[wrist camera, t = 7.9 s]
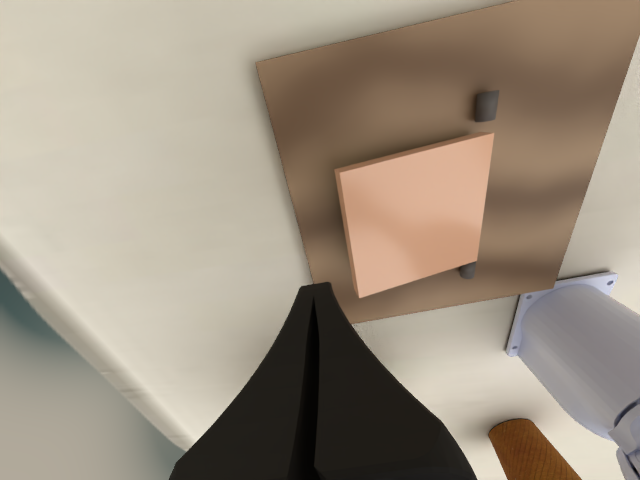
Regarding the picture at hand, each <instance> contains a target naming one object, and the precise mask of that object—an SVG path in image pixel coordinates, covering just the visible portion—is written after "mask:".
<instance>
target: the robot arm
mask: <svg viewBox="0 0 640 480" xmlns="http://www.w3.org/2000/svg"><path fill="white" fill-rule="evenodd" d="M617 278H618V274H616V273H614V272H605V273H599V274H594V275H588V276H582V277H577V278H571V279H566V280H560V281H556V282H555V285H554V288H553V289H548V290H542V291H536V292H531V293H525V294H521V296H520V300H519V303H518V307H517V311H516V315H515V319H514V322H513V326H512V330H511V334H510V338H509V341H508V345H507V349H506V354H507V355H508V356H510V357H512V356H519V358H520V359H521V360H522V361H523V362H524V363H525V365H526V366H527V367H528V368H529V369H530V371H531V372H532V373H533V374H534V375H535V376H536V378H537V379H538V380H539V381H540V382H541V383H542V385H543V386H544V387H545V388H546V389H547V390H548V392H549V393H550V394H551V395H552V396H553V398H554V399H555V400H556V401H557V402H558V403H559V405H560V406H561V407H562V408H563V409H564V410H565V411H566V412H567V413H568V414H569V415H570V416H571V417H572V418H573V419H574V420H575V421H577V422H578V423H579V424H581V425H582V426H583V427H585V428H586V429H588V430H590V431H591V432H593V433H595V434H597V435H598V436H601V437H603V438H605V439H608V440H611V441H614V442H615V443H616V444H617V445H618V446H619V448H618V449H617V451H616V456H617V460H618V463H619V465H620V468H621V471H622V474H623V476H624V478H625V480H640V315H639V314H637V313H635V312H634V311H632V310H631V309H629V308H627V307H626V306H624V305H623V304H621V303H619V302H618V301H616V300H615V299H613V298H611V297H610V296H609V294H610V292H611V290H612V288H613V286H614V284H615V282H616V280H617ZM169 480H477V478H476V475H475V473H474V471H473V469H472V467H471V466H470V464H469V462H468V460H467V458H466V457H465V455H464V453H463V452H462V450H461V448H460V447H459V445H458V444H457V442H456V441H455V439H454V438H453V437H452V435H451V434H450V432H449V431H448V429H447V428H446V427H445V425H444V424H443V422H442V421H441V420H440V419H438V418H437V417H436V416H435V415H434V414H433V413H432V412H430V411H429V410H428V409H427V408H426V407H425V406H424V405H423V404H422V403H420V402H419V401H418V400H417V399H416V398H415V397H414V396H413V395H412V394H411V393H410V392H409V391H408V390H407V389H406V388H405V387H404V386H403V385H402V384H401V383H399V381H398V380H397V379H396V378H395V377H394V376H393V375H392V374H391V373H390V372H389V371H388V370H387V369H386V368H385V367H384V366H383V364H382V363H381V362H380V361H379V360H378V359H377V358H376V357H375V355H374V354H373V353H372V352H371V351H370V349H369V348H368V347H367V346H366V344H365V343H364V342H363V341H362V339H361V338H360V337H359V335H358V334H357V332H356V331H355V330H354V328H353V327H352V325H351V324H350V322H349V321H348V319H347V317H346V316H345V314H344V312H343V310H342V309H341V307H340V305H339V303H338V301H337V299H336V297H335V295H334V292H333V289H332V284H331V283H330V282H323V283H317V284H312V285H306V286H301V287H300V289H299V291H298V294H297V296H296V299H295V301H294V304H293V306H292V308H291V311H290V313H289V315H288V317H287V319H286V321H285V323H284V325H283V327H282V329H281V331H280V333H279V334H278V336H277V338H276V340H275V342H274V344H273V345H272V347H271V349H270V350H269V352H268V353H267V355H266V357H265V358H264V360H263V361H262V363H261V364H260V366H259V367H258V369H257V370H256V371H255V373H254V374H253V376H252V377H251V378H250V380H249V381H248V382H247V384H246V385H245V386H244V388H243V389H242V390H241V392H240V393H239V394H238V395H237V397H236V398H235V399H234V400H233V401H232V403H231V404H230V405H229V406H228V407H227V408H226V410H225V411H224V412H223V413H222V414H221V416H220V417H219V418H218V419H217V420H216V421H215V423H214V424H213V425H212V426H211V427H210V428H209V429H208V430H207V431H206V432H205V433H204V434H203V435H202V437H201V438H200V439H199V440H198V441H197V442H196V443H195V444H194V445H193V446H192V447H191V448H190V449H189V450H188V451H187V452H186V453H185V454H184V455H183V456H182V457H181V458H180V459H179V460H178V461H177V462H176V464H175V466H174V469H173V471H172V473H171V475H170V478H169Z"/></svg>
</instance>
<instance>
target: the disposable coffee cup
mask: <svg viewBox="0 0 640 480" xmlns="http://www.w3.org/2000/svg"><path fill="white" fill-rule="evenodd" d="M489 438H490V440H491V442H492V445H493V447H494V449H495V452H496V454H497V456H498V458H499V461H500V463H501V465H502V468H503V470H504V472H505V474H506V477H507V479H508V480H582V479H581V478H580V477H579V476H578V474H577V473H576V472H575V471H574V470H573V469H572V467H571V466H570V465H569V464H568V463H567V462H566V460H565V459H564V458H563V457H562V456H561V455H560V453H559V452H558V451H557V450H556V449H555V448H554V447H553V445H552V444H551V443H550V442H549V441H548V440H547V438H546V437H545V436H544V435H543V434H542V433H541V431H540V430H539V429H538V428H537V427H536V426H535V424H534V423H533V422H532V421H530V420H527V419H516V420H510V421H506V422H504V423H501V424H499V425H497V426H496V427H494V428H493V429H492V430H491V431H490V433H489Z"/></svg>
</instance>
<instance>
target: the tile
mask: <svg viewBox="0 0 640 480" xmlns="http://www.w3.org/2000/svg"><path fill="white" fill-rule="evenodd" d="M493 140H494V133H488V132H478V133H474V134H470V135H467V136H463V137H459V138H455V139H451V140H447V141H443V142H439V143H435V144H431V145H427V146H423V147H420V148H416V149H412V150H408V151H404V152H400V153H396V154H392V155H388V156H384V157H380V158H377V159H373V160H369V161H365V162H361V163H357V164H353V165H349V166H345V167H341V168H337V169H334V170H335V176H336V183H337V189H338V195H339V201H340V207H341V213H342V219H343V225H344V231H345V237H346V243H347V249H348V255H349V261H350V267H351V273H352V279H353V285H354V290H355V292H356V293H357V295H358V297H359V298H362V297H365V296H368V295H371V294H374V293H378V292H381V291H384V290H387V289H390V288H393V287H396V286H399V285H403V284H406V283H409V282H412V281H415V280H418V279H421V278H425V277H428V276H431V275H434V274H437V273H440V272H443V271H446V270H450V269H453V268H456V267H459V266H462V265H465V264H468V263H472V262H475V261H477V257H478V250H479V242H480V235H481V228H482V220H483V213H484V206H485V199H486V191H487V184H488V177H489V169H490V162H491V155H492V148H493Z"/></svg>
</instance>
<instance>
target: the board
mask: <svg viewBox="0 0 640 480" xmlns="http://www.w3.org/2000/svg"><path fill="white" fill-rule="evenodd" d="M639 35H640V0H516V1H512V2H508V3H504V4H500V5H495V6H491V7H487V8H483V9H479V10H474V11H470V12H466V13H462V14H457V15H453V16H449V17H445V18H441V19H436V20H432V21H428V22H424V23H420V24H415V25H411V26H407V27H403V28H398V29H394V30H390V31H386V32H382V33H377V34H373V35H369V36H365V37H361V38H356V39H352V40H348V41H344V42H339V43H335V44H331V45H327V46H323V47H318V48H314V49H310V50H306V51H302V52H297V53H293V54H289V55H285V56H280V57H276V58H272V59H268V60H264V61H259V62H255V63H256V67H257V71H258V75H259V78H260V82H261V86H262V90H263V93H264V97H265V101H266V105H267V109H268V112H269V116H270V120H271V124H272V127H273V131H274V135H275V139H276V143H277V146H278V150H279V154H280V158H281V161H282V165H283V169H284V173H285V177H286V180H287V184H288V188H289V192H290V195H291V199H292V203H293V207H294V211H295V214H296V218H297V222H298V226H299V229H300V233H301V237H302V241H303V245H304V248H305V252H306V256H307V260H308V263H309V267H310V271H311V275H312V279H313V282H314V284H317V283H323V282H330V283H331V284H332V289H333V292H334V295H335V297H336V299H337V301H338V303H339V305H340V307H341V309H342V310H343V312H344V314H345V316H346V317H347V319H348V321H349V322H350V324H355V323H360V322H366V321H372V320H377V319H383V318H389V317H394V316H400V315H406V314H411V313H417V312H423V311H428V310H434V309H440V308H445V307H451V306H457V305H462V304H468V303H474V302H479V301H485V300H491V299H497V298H502V297H508V296H514V295H519V294H525V293H531V292H536V291H542V290H548V289H553V288H554V285H555V282H556V279H557V276H558V273H559V270H560V267H561V264H562V261H563V258H564V255H565V253H566V250H567V247H568V244H569V241H570V238H571V235H572V232H573V229H574V226H575V223H576V220H577V217H578V214H579V211H580V209H581V206H582V203H583V200H584V197H585V194H586V191H587V188H588V185H589V182H590V179H591V176H592V173H593V170H594V167H595V165H596V162H597V159H598V156H599V153H600V150H601V147H602V144H603V141H604V138H605V135H606V132H607V129H608V126H609V123H610V121H611V118H612V115H613V112H614V109H615V106H616V103H617V100H618V97H619V94H620V91H621V88H622V85H623V82H624V79H625V77H626V74H627V71H628V68H629V65H630V62H631V59H632V56H633V53H634V50H635V47H636V44H637V41H638V38H639ZM478 132H488V133H494V140H493V148H492V155H491V162H490V169H489V177H488V184H487V191H486V199H485V206H484V213H483V220H482V228H481V235H480V242H479V250H478V257H477V261H475V262H472V263H468V264H465V265H462V266H459V267H456V268H453V269H450V270H446V271H443V272H440V273H437V274H434V275H431V276H428V277H425V278H421V279H418V280H415V281H412V282H409V283H406V284H403V285H399V286H396V287H393V288H390V289H387V290H384V291H381V292H378V293H374V294H371V295H368V296H365V297H362V298H359V297H358V295H357V293H356V292H355V290H354V285H353V279H352V273H351V267H350V261H349V255H348V249H347V243H346V237H345V231H344V225H343V219H342V213H341V207H340V201H339V195H338V189H337V183H336V176H335V170H334V169H337V168H341V167H345V166H349V165H353V164H357V163H361V162H365V161H369V160H373V159H377V158H380V157H384V156H388V155H392V154H396V153H400V152H404V151H408V150H412V149H416V148H420V147H423V146H427V145H431V144H435V143H439V142H443V141H447V140H451V139H455V138H459V137H463V136H467V135H470V134H474V133H478Z"/></svg>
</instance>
